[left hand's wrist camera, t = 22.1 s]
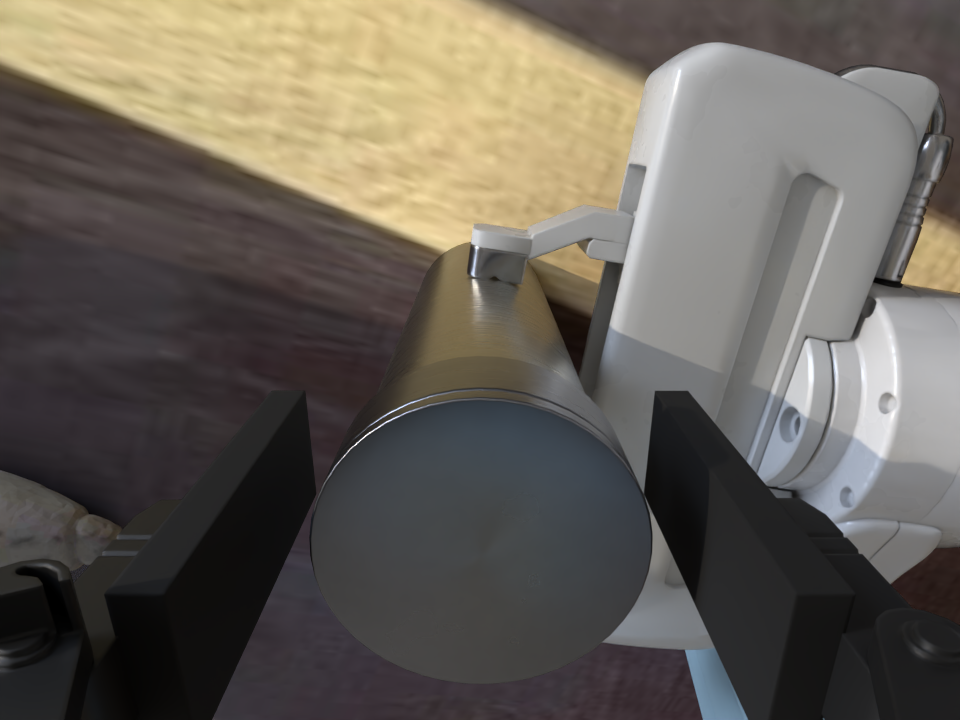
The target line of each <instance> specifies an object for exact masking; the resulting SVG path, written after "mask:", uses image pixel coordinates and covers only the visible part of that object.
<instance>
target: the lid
mask: <svg viewBox="0 0 960 720" xmlns="http://www.w3.org/2000/svg"><path fill="white" fill-rule="evenodd" d="M652 544H653V532H652V524H651V517H650V512H649V509H648V506H647V502H646V499H645V496H644V494H643V491H642V489H641V487H640V485H639V483H638V481H637V478H636V476H635V474H634V472H633V470H632V468H631V465H630V463H629V461H628V459H627V457H626V454H625V452H624V450H623V448H622V446H621V444H620V441H619V439H618V437H617V435H616V433H615V431H614V429H613V427H612V425H611V424H610V422H609V421H608V419H607V418H606V416H605V415H604V413H603V412H602V411H601V409H600V408H599V407H598V406H597V405H596V404H595V403H594V402H593V401H592V400H591V399H590V397H588V396H587V395H586V394H585V393H584V392H582V391H581V390H580V389H579V388H578V387H576V386H575V385H574V384H572V383H570V382H569V381H567V380H566V379H564V378H562V377H561V376H559V375H558V374H555V373H553V372H551V371H549V370H546V369H544V368H542V367H540V366H537V365H533V364H530V363H527V362H524V361H520V360H515V359H509V358H503V357H493V356H470V357H458V358H453V359H448V360H443V361H438V362H435V363H432V364H429V365H426V366H423V367H420V368H417V369H415V370H413V371H411V372H409V373H407V374H405V375H403V376H401V377H399V378H398V379H396V380H395V381H393V382H392V383H390V384H389V385H387V386H386V387H384V388H383V389H382V390H381V391H380V392H379V393H377V394H376V395H375V396H374V397H373V398H372V399H371V400H370V401H369V402H368V403H367V404H366V405H365V407H364V408H363V409H362V410H361V411H360V412H359V413H358V415H357V416H356V418H355V420H354V421H353V423H352V424H351V426H350V427H349V429H348V431H347V433H346V436H345V438H344V440H343V442H342V444H341V446H340V449H339V451H338V453H337V455H336V457H335V460H334V462H333V464H332V466H331V468H330V471H329V473H328V475H327V477H326V479H325V481H324V484H323V486H322V488H321V490H320V493H319V495H318V497H317V500H316V503H315V507H314V511H313V514H312V518H311V527H310V556H311V561H312V565H313V570H314V575H315V577H316V580H317V583H318V585H319V588H320V591H321V593H322V595H323V597H324V599H325V600H326V602H327V604H328V606H329V608H330V609H331V611H332V612H333V613H334V615H335V616H336V617H337V619H338V620H339V621H340V623H341V624H342V625H343V626H344V627H345V628H346V629H347V630H348V631H349V632H350V633H351V634H352V635H353V636H354V637H355V638H356V639H357V640H358V641H360V642H361V643H362V644H363V645H364V646H366V647H367V648H368V649H369V650H371V651H373V652H374V653H376V654H377V655H379V656H380V657H382V658H384V659H385V660H387V661H389V662H391V663H393V664H395V665H397V666H399V667H402V668H404V669H406V670H409V671H412V672H415V673H417V674H420V675H423V676H427V677H431V678H435V679H439V680H443V681H451V682H458V683H470V684H492V683H506V682H512V681H518V680H524V679H528V678H531V677H535V676H539V675H543V674H545V673H548V672H551V671H553V670H556V669H559V668H561V667H563V666H565V665H567V664H569V663H571V662H573V661H575V660H577V659H579V658H581V657H582V656H584V655H585V654H587V653H588V652H590V651H591V650H593V649H594V648H596V647H597V646H598V645H599V644H600V643H602V642H603V641H604V640H605V639H606V638H608V637H609V636H610V635H611V634H612V633H613V632H614V631H615V630H616V629H617V627H618V626H619V625H620V624H621V623H622V622H623V621H624V619H625V618H626V617H627V615H628V614H629V612H630V611H631V610H632V608H633V607H634V605H635V603H636V601H637V599H638V597H639V595H640V593H641V592H642V590H643V587H644V584H645V581H646V578H647V575H648V572H649V568H650V562H651V557H652Z"/></svg>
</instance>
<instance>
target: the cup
mask: <svg viewBox="0 0 960 720" xmlns="http://www.w3.org/2000/svg"><path fill="white" fill-rule="evenodd" d="M685 652H686V656H687V660H688V664H689V667H690V671H691V675H692V679H693V683H694V687H695V691H696V694H697V698H698V702H699V706H700V710H701V714H702V717H703V720H748V718H747V716H746V714H745V712H744V710H743V708H742V705H741V703H740V701H739V699H738V697H737V695H736V692H735V690H734V688H733V686H732V684H731V682H730V679H729V677H728V675H727V673H726V671H725V669H724V666H723V664H722V662H721V660H720V658H719V656H718V653H717V651H716V649H715V648H712V649H703V650H685ZM823 720H825V719H824V718H823Z"/></svg>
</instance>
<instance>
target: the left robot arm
mask: <svg viewBox="0 0 960 720" xmlns="http://www.w3.org/2000/svg"><path fill="white" fill-rule="evenodd" d="M315 495H316V486H315V477H314V468H313V459H312V449H311V440H310V431H309V422H308V412H307V403H306V394H305V391H271V393H270V394H269V395H268V396H267V397H266V399H265V400H264V401H263V402H262V403H261V405H260V406H259V407H258V408H257V409H256V411H255V412H254V413H253V414H252V415H251V417H250V418H249V419H248V420H247V422H246V423H245V424H244V425H243V426H242V428H241V429H240V430H239V431H238V432H237V434H236V435H235V436H234V437H233V438H232V440H231V441H230V442H229V443H228V444H227V446H226V447H225V448H224V449H223V451H222V452H221V453H220V454H219V455H218V457H217V458H216V459H215V460H214V461H213V463H212V464H211V465H210V466H209V467H208V469H207V470H206V471H205V472H204V474H203V475H202V476H201V477H200V478H199V480H198V481H197V482H196V483H195V484H194V486H193V487H192V488H191V489H190V490H189V492H188V493H187V494H186V495H185V496H184V498H183V499H182V500H160V501H158V502H157V503H155V504H154V505H152V506H150V507H149V508H147V509H146V510H144V511H142V512H141V513H139V514H138V515H136V516H135V517H134V518H133V519H132V520H131V521H130V522H129V523H128V524H127V525H126V526H125V527H124V529H123V530H122V531H121V532H120V533H119V534H118V535H117V539H116V540H113V541H112V542H111V543H110V544H109V545H108V546H107V547H106V548H105V549H104V550H103V551H102V556H98V557H97V558H96V559H95V560H94V561H93V562H92V563H91V565H90V566H89V567H88V568H87V569H86V570H85V571H84V572H83V573H82V574H81V575H80V577H79V578H78V579H77V580H76V581H75V582H74V583H73V580H72V576H71V573H70V569H69V567H67V566H66V565H64V564H63V563H62V562H60V561H57V560H50V559H35V560H27V561H20V562H17V563H13V564H10V565H7V566H3V567H0V720H212V718H213V716H214V714H215V712H216V710H217V708H218V705H219V703H220V701H221V699H222V697H223V695H224V692H225V690H226V688H227V686H228V684H229V682H230V679H231V677H232V675H233V673H234V671H235V669H236V666H237V664H238V662H239V660H240V658H241V656H242V653H243V651H244V649H245V647H246V645H247V643H248V640H249V638H250V636H251V634H252V632H253V630H254V628H255V625H256V623H257V621H258V619H259V617H260V615H261V612H262V610H263V608H264V606H265V604H266V602H267V599H268V597H269V595H270V593H271V591H272V589H273V586H274V584H275V582H276V580H277V578H278V576H279V573H280V571H281V569H282V567H283V565H284V563H285V560H286V558H287V556H288V554H289V552H290V550H291V547H292V545H293V543H294V541H295V539H296V537H297V534H298V532H299V530H300V528H301V526H302V524H303V521H304V519H305V517H306V515H307V513H308V511H309V508H310V506H311V504H312V502H313V500H314V498H315ZM644 495H645V498H646V500H647V502H648V504H649V506H650V508H651V511H652V513H653V515H654V517H655V519H656V521H657V524H658V526H659V528H660V530H661V532H662V534H663V537H664V539H665V541H666V543H667V545H668V547H669V550H670V552H671V554H672V556H673V558H674V560H675V563H676V565H677V567H678V569H679V571H680V573H681V576H682V578H683V580H684V582H685V584H686V586H687V589H688V591H689V593H690V595H691V597H692V599H693V602H694V604H695V606H696V608H697V610H698V612H699V615H700V617H701V619H702V621H703V623H704V625H705V628H706V630H707V632H708V634H709V636H710V638H711V640H712V643H713V645H714V647H715V649H716V651H717V653H718V656H719V658H720V660H721V662H722V664H723V666H724V669H725V671H726V673H727V675H728V677H729V679H730V682H731V684H732V686H733V688H734V690H735V692H736V695H737V697H738V699H739V701H740V703H741V705H742V708H743V710H744V712H745V714H746V716H747V718H748V720H823V718H824V719H825V720H960V625H958V624H956V623H954V622H953V621H951V620H949V619H947V618H944V617H941V616H938V615H935V614H933V613H930V612H927V611H924V610H917V609H913V608H912V607H911V606H910V605H909V604H908V603H907V602H906V601H905V600H904V599H903V598H902V596H901V595H900V594H899V593H898V592H897V591H896V590H895V589H894V588H893V587H892V586H891V585H890V583H889V582H888V581H887V580H886V579H885V578H884V577H883V576H882V575H881V574H880V573H879V571H878V570H877V569H876V568H875V567H874V566H873V565H872V564H871V563H870V562H869V561H868V560H867V558H866V557H865V556H864V555H863V554H859V552H858V549H857V548H856V547H855V545H854V544H853V543H852V542H851V541H850V540H849V539H848V538H847V537H844V534H843V532H842V531H841V530H840V529H839V528H838V527H837V526H836V525H835V524H834V523H833V522H832V521H831V519H830V518H829V517H828V516H827V515H826V514H824V513H823V512H821V511H820V510H818V509H816V508H815V507H813V506H812V505H810V504H808V503H807V502H805V501H804V500H802V499H800V498H776V496H775V495H774V494H773V493H772V492H771V490H770V489H769V488H768V487H767V486H766V484H765V483H764V482H763V481H762V480H761V478H760V477H759V476H758V475H757V474H756V472H755V471H754V470H753V469H752V467H751V466H750V465H749V464H748V463H747V461H746V460H745V459H744V458H743V457H742V455H741V454H740V453H739V452H738V451H737V449H736V448H735V447H734V446H733V444H732V443H731V442H730V441H729V440H728V438H727V437H726V436H725V435H724V434H723V432H722V431H721V430H720V429H719V428H718V426H717V425H716V424H715V423H714V422H713V420H712V419H711V418H710V417H709V415H708V414H707V413H706V412H705V411H704V409H703V408H702V407H701V406H700V405H699V403H698V402H697V401H696V400H695V399H694V397H693V396H692V395H691V394H690V393H689V391H655V394H654V403H653V412H652V422H651V431H650V440H649V449H648V459H647V468H646V477H645V486H644Z"/></svg>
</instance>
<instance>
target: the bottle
mask: <svg viewBox="0 0 960 720" xmlns="http://www.w3.org/2000/svg"><path fill="white" fill-rule="evenodd" d="M470 245H471V242H469V243H464V244H461V245H458V246H456V247H454V248H452V249H450V250H448V251H447V252H445V253H444V254H442V255H441V256H440V257H439V258H438V259H437V260H436V261H435V262H434V263H433V264H432V265H431V267H430V268H429V270H428V271H427V273H426V275H425V277H424V280H423V282H422V284H421V287H420V289H419V292H418V294H417V297H416V299H415V302H414V304H413V306H412V309H411V311H410V314H409V316H408V319H407V321H406V324H405V326H404V328H403V331H402V333H401V336H400V338H399V341H398V343H397V346H396V348H395V350H394V353H393V355H392V358H391V360H390V363H389V365H388V368H387V370H386V372H385V375H384V377H383V380H382V382H381V385H380V387H379V389H378V392H377V393H379V392H380V391H381V390H382V389H383V388H384V387H386V386H387V385H389V384H390V383H392V382H393V381H395V380H396V379H398V378H399V377H401V376H403V375H405V374H407V373H409V372H411V371H413V370H415V369H417V368H420V367H423V366H426V365H429V364H432V363H435V362H438V361H443V360H448V359H453V358H458V357H470V356H493V357H503V358H509V359H515V360H520V361H524V362H527V363H530V364H533V365H537V366H540V367H542V368H544V369H546V370H549V371H551V372H553V373H555V374H558V375H559V376H561V377H562V378H564V379H566V380H567V381H569V382H570V383H572V384H574V385H575V386H576V387H578V388H579V389H580V390H581V391H582V392H584V390H583V387H582V385H581V382H580V380H579V378H578V375H577V373H576V370H575V368H574V365H573V363H572V361H571V358H570V356H569V353H568V351H567V348H566V346H565V344H564V341H563V339H562V336H561V334H560V331H559V329H558V326H557V324H556V322H555V319H554V317H553V314H552V312H551V309H550V307H549V305H548V302H547V300H546V297H545V295H544V292H543V290H542V288H541V285H540V283H539V280H538V278H537V276H536V274H535V272H534V270H533V269H532V267H531V266H530V265H529V263H528V262H527V264H526V269H525V274H524V279H523V284H522V285H520V284H514V283H508V282H505V281H500V280H499V279H498V278H497V277H496V276H493V277H491V278H489V279H487V278H476V277H473V276H469V275H468V274H467V266H468V259H469V252H470ZM584 393H585V392H584Z"/></svg>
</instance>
